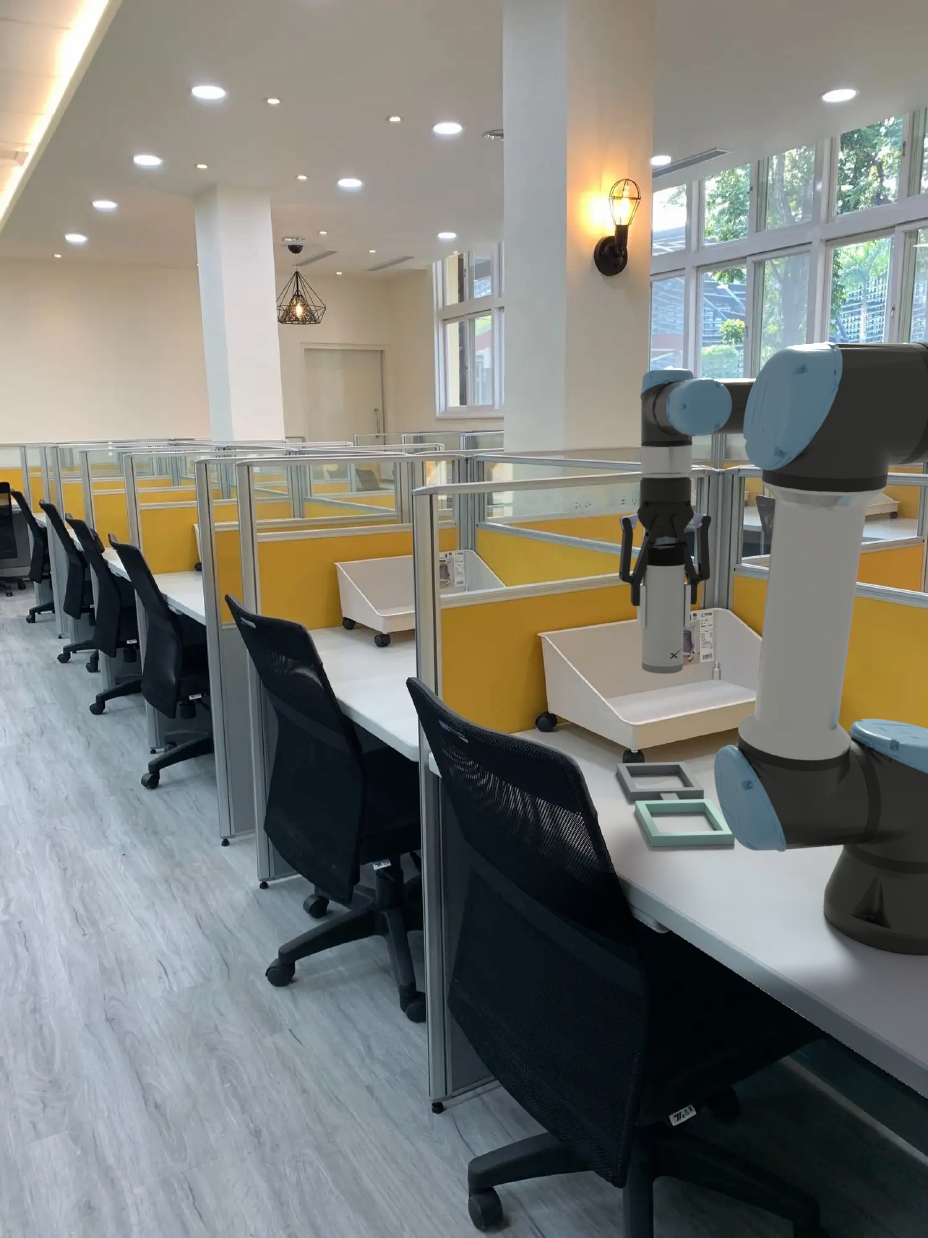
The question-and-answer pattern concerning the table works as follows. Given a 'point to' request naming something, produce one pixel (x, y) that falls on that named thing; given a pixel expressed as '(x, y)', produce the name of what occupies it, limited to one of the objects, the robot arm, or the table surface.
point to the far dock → (647, 794)
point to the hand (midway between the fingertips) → (663, 625)
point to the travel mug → (664, 609)
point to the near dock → (683, 838)
